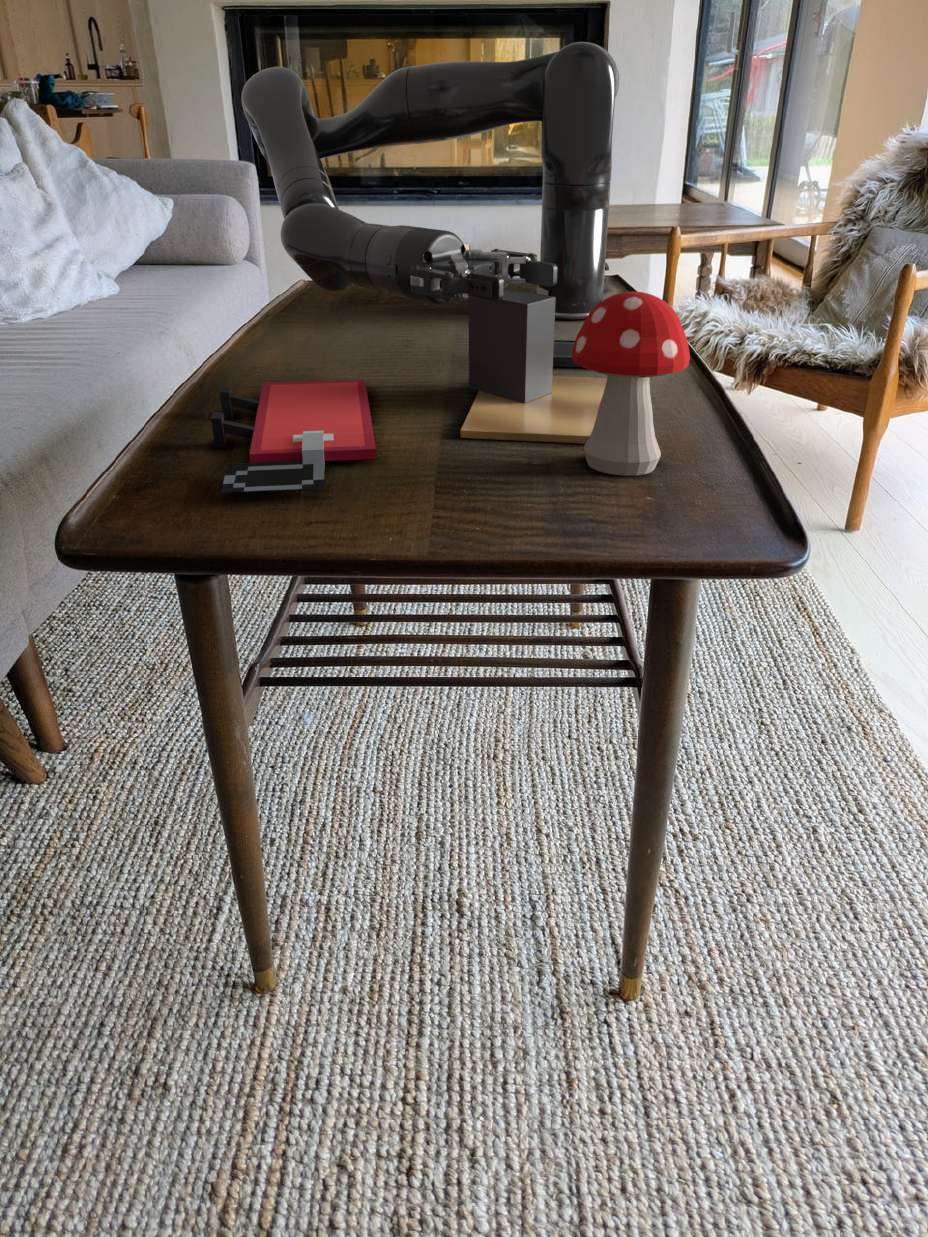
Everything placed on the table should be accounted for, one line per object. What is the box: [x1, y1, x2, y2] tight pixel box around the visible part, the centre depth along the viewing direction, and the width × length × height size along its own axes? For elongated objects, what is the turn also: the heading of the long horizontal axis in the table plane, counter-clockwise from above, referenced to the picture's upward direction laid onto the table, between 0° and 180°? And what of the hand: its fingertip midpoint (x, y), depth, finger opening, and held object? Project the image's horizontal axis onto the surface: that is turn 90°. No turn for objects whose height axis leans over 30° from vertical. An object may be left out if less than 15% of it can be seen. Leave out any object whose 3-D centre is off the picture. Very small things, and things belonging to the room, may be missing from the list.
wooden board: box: [459, 375, 607, 445], centre depth 94 cm, size 19×17×1 cm
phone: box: [553, 339, 583, 368], centre depth 110 cm, size 8×1×15 cm
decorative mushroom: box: [572, 290, 691, 476], centre depth 77 cm, size 10×9×15 cm
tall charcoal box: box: [467, 287, 556, 403], centre depth 95 cm, size 8×5×10 cm, turn 47°
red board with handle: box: [210, 379, 377, 494], centre depth 87 cm, size 30×3×15 cm
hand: (528, 282), depth 91 cm, fingers open, 8 cm apart
